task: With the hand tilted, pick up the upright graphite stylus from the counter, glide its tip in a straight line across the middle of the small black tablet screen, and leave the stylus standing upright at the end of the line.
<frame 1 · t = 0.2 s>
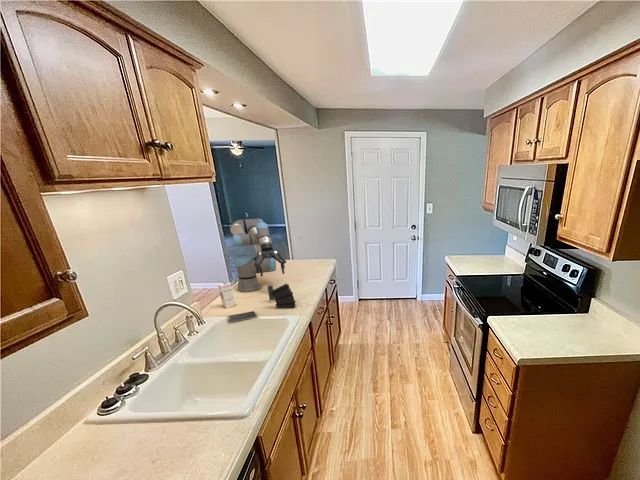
hand: (273, 274, 215), 16 cm above the worktop, tool tilted 35°, fingers open, 13 cm apart
black ridged block: (284, 307, 204), on the worktop
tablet: (242, 317, 189), on the worktop
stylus: (272, 301, 213), on the worktop
syrup box: (228, 306, 206), on the worktop
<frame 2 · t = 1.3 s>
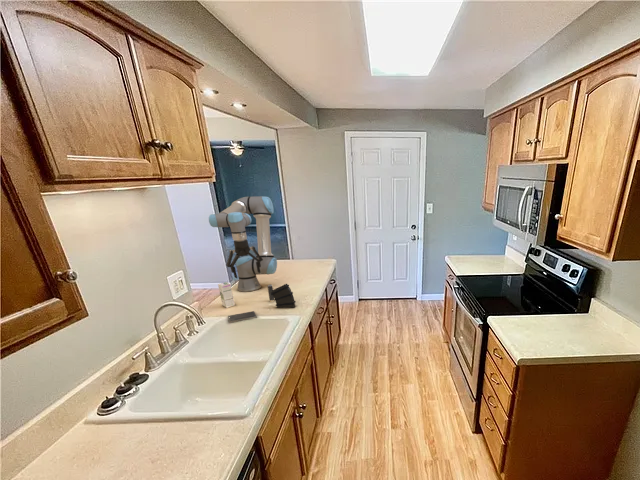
hand: (247, 275, 198), 20 cm above the worktop, tool pointing down, fingers open, 13 cm apart
nothing on the worktop moved.
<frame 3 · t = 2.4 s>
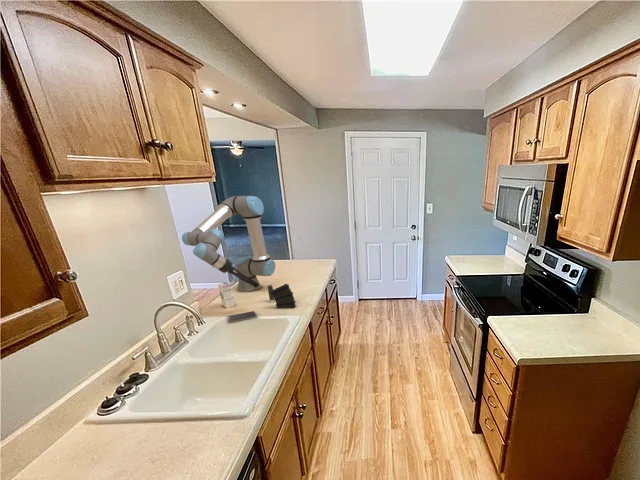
hand: (252, 283, 201), 14 cm above the worktop, tool tilted 45°, fingers open, 13 cm apart
nothing on the worktop moved.
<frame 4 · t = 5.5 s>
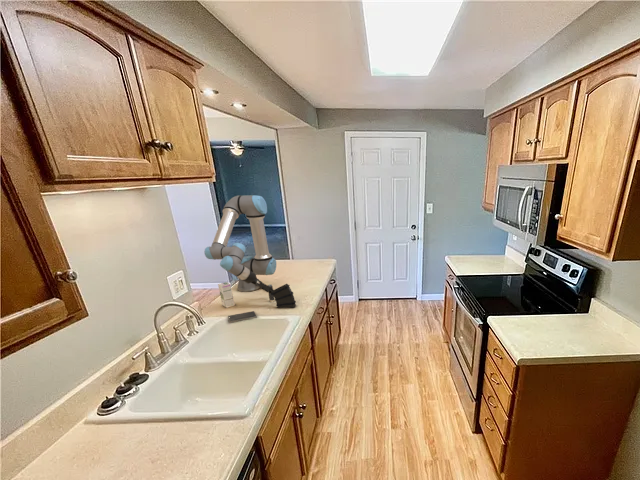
hand: (273, 293, 212), 5 cm above the worktop, tool tilted 45°, fingers open, 13 cm apart
black ridged block: (284, 307, 204), on the worktop, touching gripper
everything else where it was.
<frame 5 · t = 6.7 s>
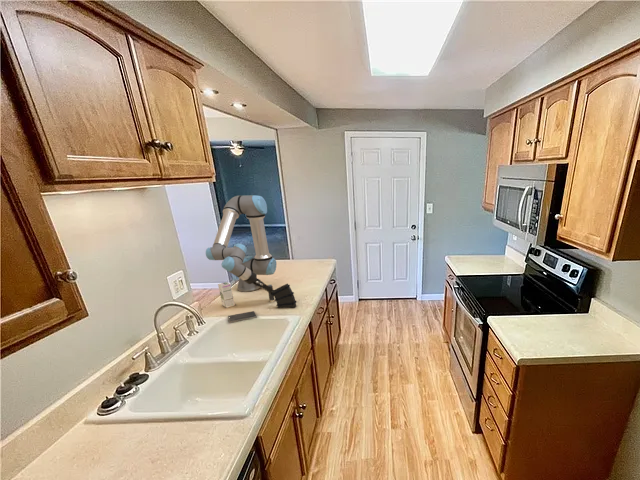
hand: (277, 295, 215), 3 cm above the worktop, tool tilted 45°, fingers closed on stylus, 3 cm apart
black ridged block: (285, 307, 204), on the worktop
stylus: (272, 301, 213), on the worktop, touching gripper
everything else where it was.
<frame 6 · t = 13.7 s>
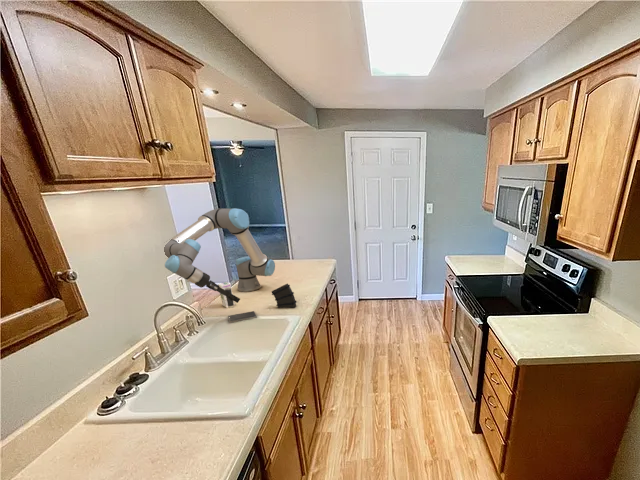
hand: (237, 300, 186), 11 cm above the worktop, tool tilted 45°, fingers closed on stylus, 3 cm apart
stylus: (231, 307, 184), point 7 cm above the worktop, touching gripper
everything else where it was.
when the fingers open (5 cm above the worktop, at t = 20.7 s): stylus stays where it is, resting on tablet.
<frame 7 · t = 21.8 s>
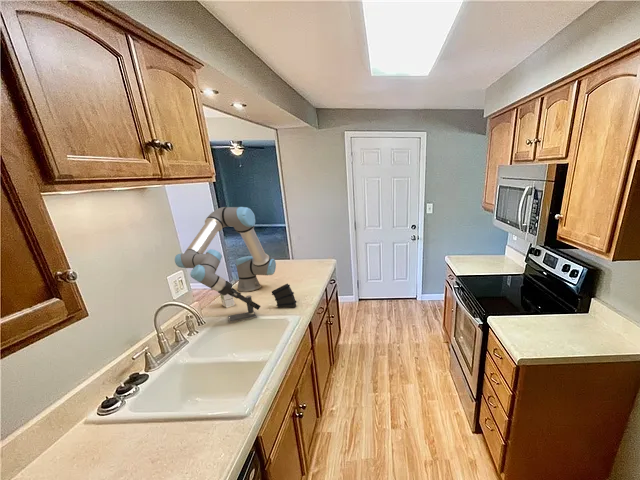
hand: (254, 304, 190), 6 cm above the worktop, tool tilted 45°, fingers open, 13 cm apart
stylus: (251, 314, 190), point 1 cm above the worktop, touching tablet
everything else where it was.
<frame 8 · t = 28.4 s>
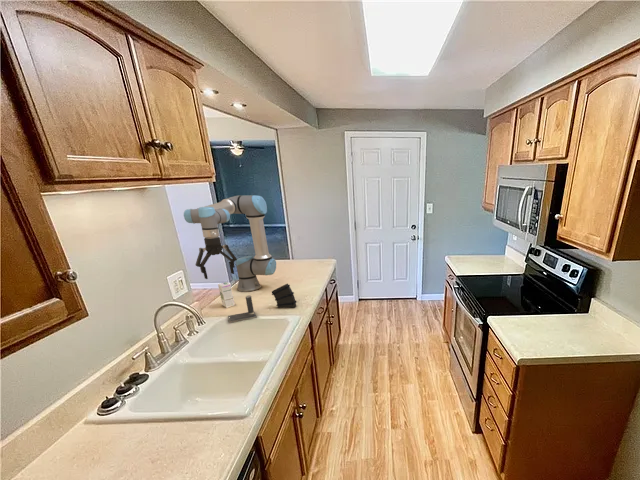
hand: (219, 276, 181), 25 cm above the worktop, tool pointing down, fingers open, 13 cm apart
nothing on the worktop moved.
at the end: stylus moved 24.3 cm from its start; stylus 1.0 cm from the target spot on the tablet, point 1.2 cm above the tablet's base; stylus tilted 0° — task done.
